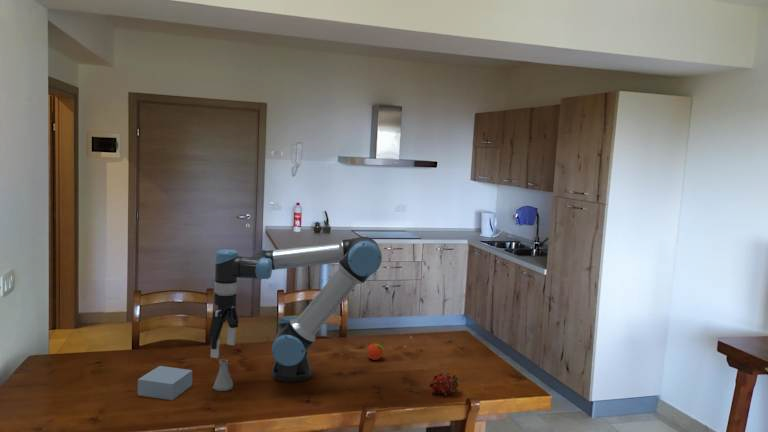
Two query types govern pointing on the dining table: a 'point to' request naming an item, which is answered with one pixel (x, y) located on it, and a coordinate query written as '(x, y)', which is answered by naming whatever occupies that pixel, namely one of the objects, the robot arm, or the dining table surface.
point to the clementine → (374, 351)
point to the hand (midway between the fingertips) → (223, 350)
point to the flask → (223, 378)
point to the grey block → (165, 382)
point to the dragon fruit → (444, 383)
